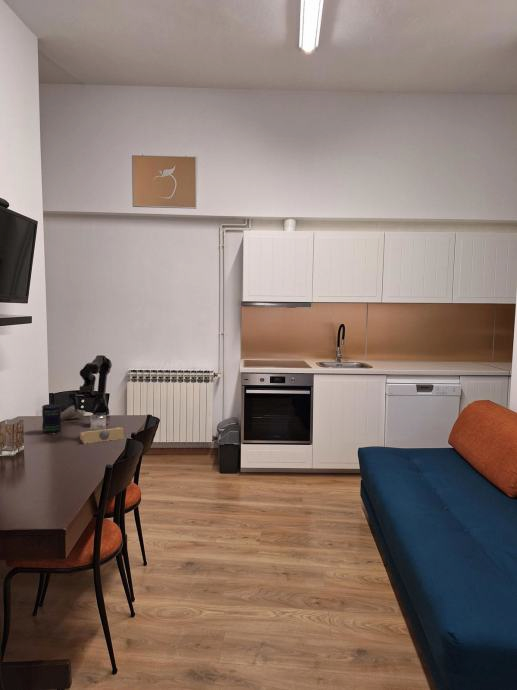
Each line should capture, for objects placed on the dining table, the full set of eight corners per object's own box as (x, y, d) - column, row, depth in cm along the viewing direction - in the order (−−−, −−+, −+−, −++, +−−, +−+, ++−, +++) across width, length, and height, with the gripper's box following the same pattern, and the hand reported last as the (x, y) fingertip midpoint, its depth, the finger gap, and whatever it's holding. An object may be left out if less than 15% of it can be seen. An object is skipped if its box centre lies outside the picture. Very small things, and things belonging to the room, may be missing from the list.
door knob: (82, 434, 270) (82, 414, 269) (107, 431, 277) (107, 412, 276) (87, 440, 258) (87, 420, 257) (114, 437, 265) (114, 417, 264)
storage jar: (56, 434, 267) (56, 407, 266) (39, 434, 268) (38, 407, 266) (64, 429, 277) (63, 404, 276) (47, 429, 278) (46, 403, 276)
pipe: (68, 433, 300) (88, 417, 308) (66, 426, 293) (86, 410, 302) (51, 417, 305) (70, 403, 313) (48, 410, 298) (68, 395, 306)
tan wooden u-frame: (80, 438, 259) (79, 428, 259) (118, 434, 270) (118, 423, 270) (84, 444, 250) (84, 432, 250) (123, 439, 261) (123, 428, 260)
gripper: (67, 378, 258) (62, 406, 251) (103, 379, 259) (98, 406, 252) (73, 386, 268) (68, 413, 260) (107, 387, 269) (103, 413, 261)
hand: (84, 411), depth 258 cm, fingers open, 9 cm apart
